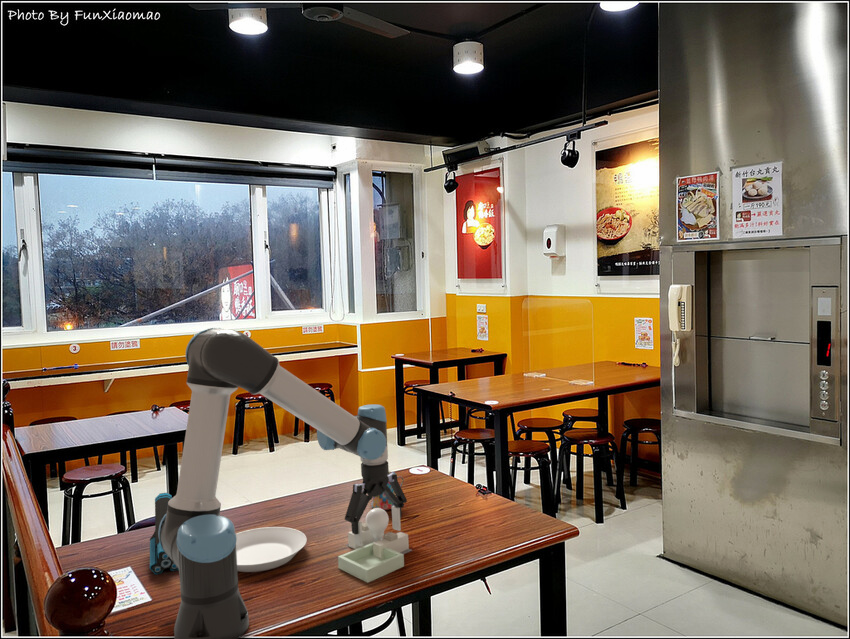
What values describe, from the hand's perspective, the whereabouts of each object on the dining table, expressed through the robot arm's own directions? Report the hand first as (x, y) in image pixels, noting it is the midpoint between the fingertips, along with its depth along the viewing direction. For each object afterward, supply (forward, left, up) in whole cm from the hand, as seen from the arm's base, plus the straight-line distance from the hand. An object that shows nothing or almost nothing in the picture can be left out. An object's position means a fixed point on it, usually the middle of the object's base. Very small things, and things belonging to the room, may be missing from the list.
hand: (378, 537), depth 174 cm
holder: (0, 0, -3) cm, 3 cm away
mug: (+23, +23, -3) cm, 33 cm away
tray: (-9, -8, -3) cm, 12 cm away
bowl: (-25, +20, -3) cm, 32 cm away
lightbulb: (0, 0, -3) cm, 3 cm away
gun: (-42, +42, -3) cm, 59 cm away
